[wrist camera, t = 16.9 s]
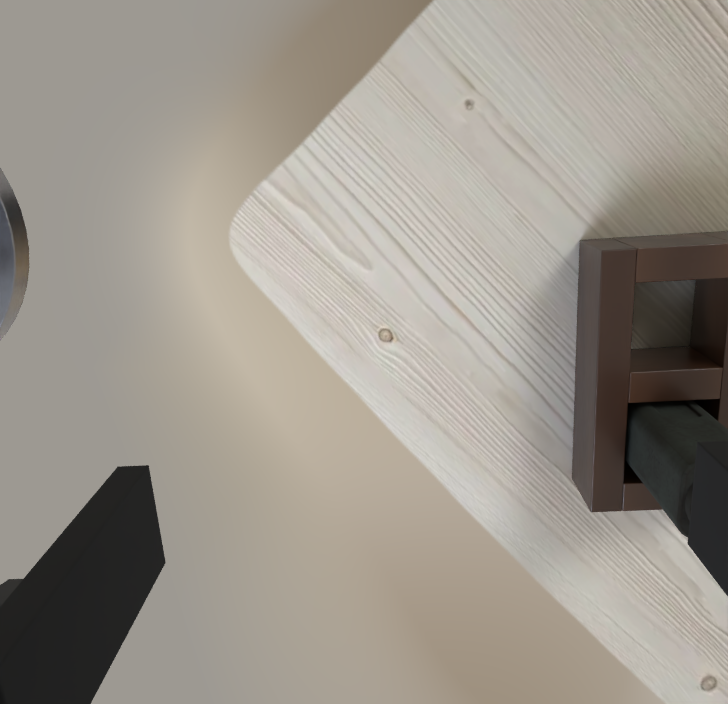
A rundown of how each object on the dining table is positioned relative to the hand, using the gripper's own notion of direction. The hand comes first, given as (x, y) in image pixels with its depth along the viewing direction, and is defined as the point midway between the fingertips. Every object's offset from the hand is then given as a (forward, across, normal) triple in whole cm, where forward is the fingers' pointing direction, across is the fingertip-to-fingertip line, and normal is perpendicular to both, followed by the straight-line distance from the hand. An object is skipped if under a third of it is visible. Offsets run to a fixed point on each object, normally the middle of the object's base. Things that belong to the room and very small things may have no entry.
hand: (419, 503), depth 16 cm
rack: (+33, +18, -8) cm, 38 cm away
